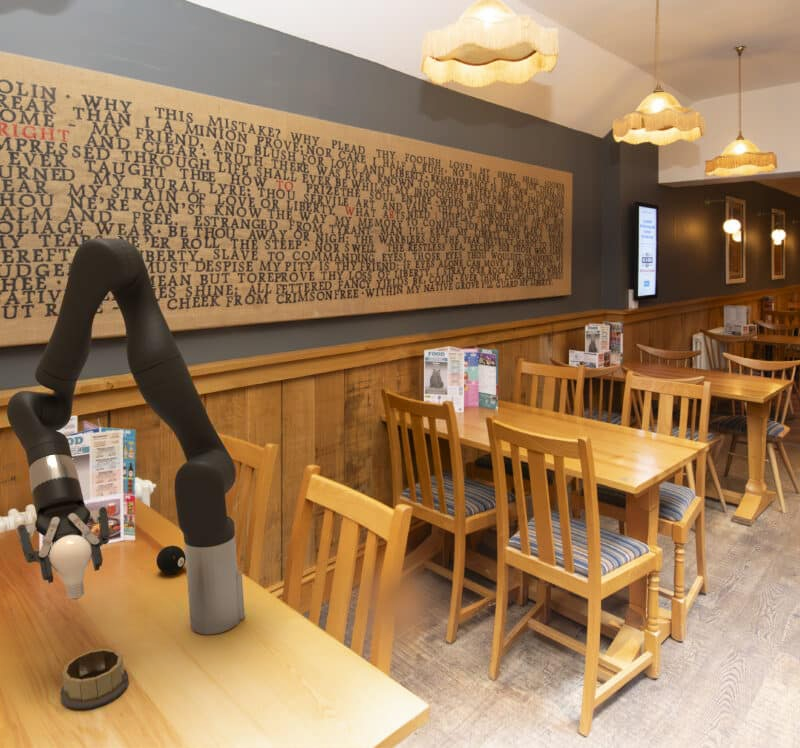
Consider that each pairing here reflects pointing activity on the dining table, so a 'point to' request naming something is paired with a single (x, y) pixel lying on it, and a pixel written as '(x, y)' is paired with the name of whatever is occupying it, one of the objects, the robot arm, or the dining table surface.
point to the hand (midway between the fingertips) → (74, 574)
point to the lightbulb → (71, 562)
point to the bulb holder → (93, 679)
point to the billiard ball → (171, 559)
